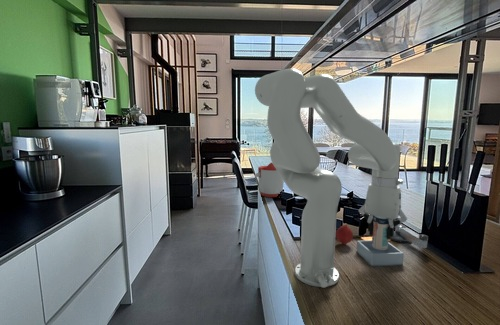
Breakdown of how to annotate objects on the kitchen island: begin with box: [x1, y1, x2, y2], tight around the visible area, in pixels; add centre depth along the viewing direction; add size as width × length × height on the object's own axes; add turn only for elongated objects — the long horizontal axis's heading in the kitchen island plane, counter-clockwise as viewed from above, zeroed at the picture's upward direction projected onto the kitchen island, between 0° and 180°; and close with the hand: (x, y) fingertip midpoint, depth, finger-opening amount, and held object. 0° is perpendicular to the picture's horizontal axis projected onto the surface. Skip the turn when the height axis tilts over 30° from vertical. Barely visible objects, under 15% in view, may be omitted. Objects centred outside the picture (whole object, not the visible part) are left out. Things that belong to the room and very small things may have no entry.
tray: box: [355, 240, 405, 268], centre depth 93 cm, size 10×10×4 cm
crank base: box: [360, 231, 411, 244], centre depth 108 cm, size 8×19×2 cm, turn 96°
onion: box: [335, 223, 354, 246], centre depth 103 cm, size 6×6×8 cm
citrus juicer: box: [254, 162, 285, 198], centre depth 169 cm, size 16×17×20 cm
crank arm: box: [394, 223, 429, 249], centre depth 103 cm, size 15×4×4 cm, turn 6°
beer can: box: [371, 216, 389, 251], centre depth 92 cm, size 5×5×12 cm
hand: (380, 235), depth 92 cm, fingers closed on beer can, 4 cm apart
